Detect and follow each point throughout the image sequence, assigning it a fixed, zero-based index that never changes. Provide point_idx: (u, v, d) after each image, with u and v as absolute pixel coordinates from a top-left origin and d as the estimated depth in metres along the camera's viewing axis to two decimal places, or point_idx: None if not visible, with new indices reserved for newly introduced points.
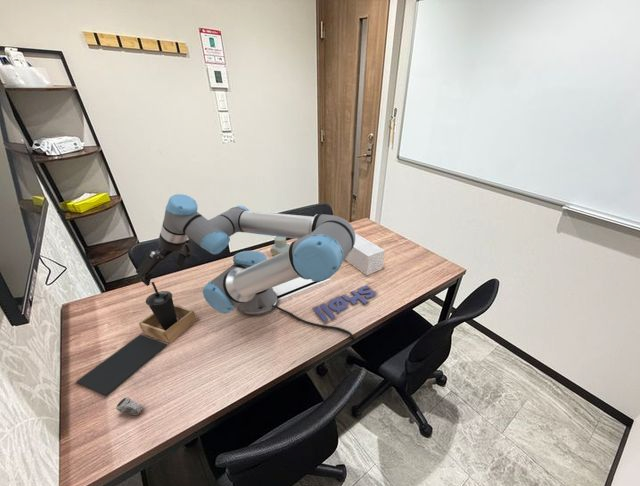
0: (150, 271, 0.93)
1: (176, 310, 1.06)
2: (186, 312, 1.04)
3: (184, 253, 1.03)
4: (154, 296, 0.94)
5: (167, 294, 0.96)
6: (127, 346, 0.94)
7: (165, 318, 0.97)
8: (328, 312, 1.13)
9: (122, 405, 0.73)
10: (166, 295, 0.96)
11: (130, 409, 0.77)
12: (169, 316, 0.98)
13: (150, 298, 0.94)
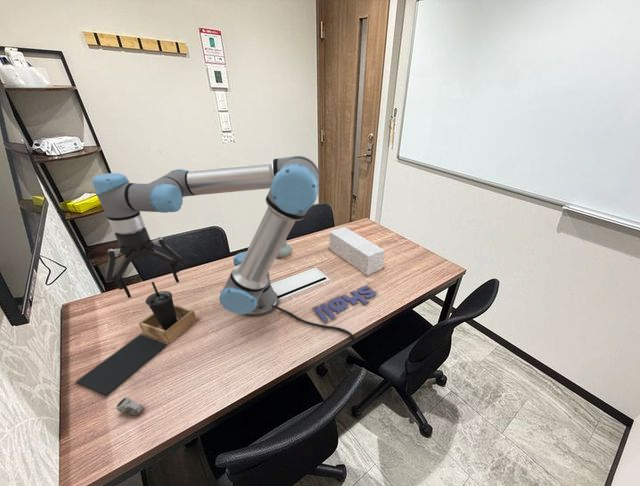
0: (118, 275, 0.84)
1: (176, 310, 1.06)
2: (186, 312, 1.04)
3: (165, 259, 0.91)
4: (154, 296, 0.94)
5: (167, 294, 0.96)
6: (127, 346, 0.94)
7: (165, 318, 0.97)
8: (328, 312, 1.13)
9: (122, 405, 0.73)
10: (166, 295, 0.96)
11: (130, 409, 0.77)
12: (170, 316, 0.98)
13: (150, 298, 0.94)
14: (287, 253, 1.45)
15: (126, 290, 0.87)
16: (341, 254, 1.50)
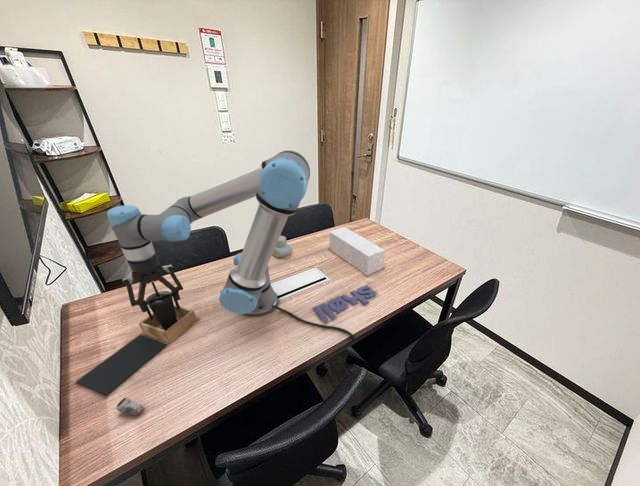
0: (140, 300, 0.91)
1: (176, 310, 1.06)
2: (186, 312, 1.04)
3: (169, 286, 0.95)
4: (154, 296, 0.94)
5: (167, 294, 0.96)
6: (127, 346, 0.94)
7: (165, 318, 0.97)
8: (328, 312, 1.13)
9: (122, 405, 0.73)
10: (166, 295, 0.96)
11: (130, 409, 0.77)
12: (170, 316, 0.98)
13: (150, 298, 0.94)
14: (287, 253, 1.45)
15: (149, 313, 0.94)
16: (341, 254, 1.50)
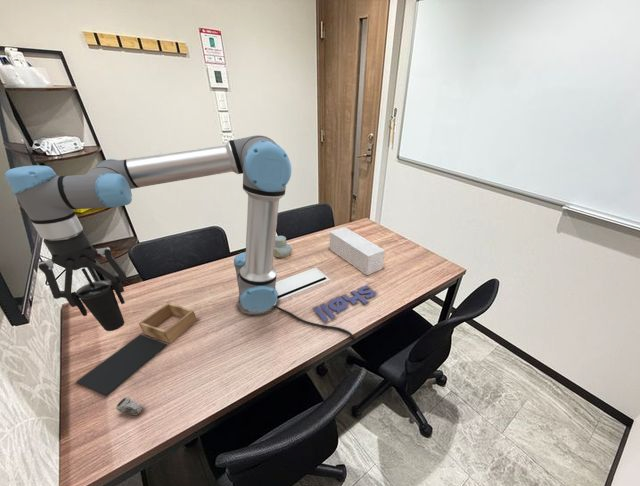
0: (66, 291, 0.72)
1: (176, 310, 1.06)
2: (186, 312, 1.04)
3: (106, 274, 0.76)
4: (87, 287, 0.75)
5: (105, 284, 0.77)
6: (127, 346, 0.94)
7: (103, 315, 0.78)
8: (328, 312, 1.13)
9: (122, 405, 0.73)
10: (103, 285, 0.77)
11: (130, 409, 0.77)
12: (109, 312, 0.79)
13: (82, 289, 0.75)
14: (287, 253, 1.45)
15: (80, 307, 0.75)
16: (341, 254, 1.50)
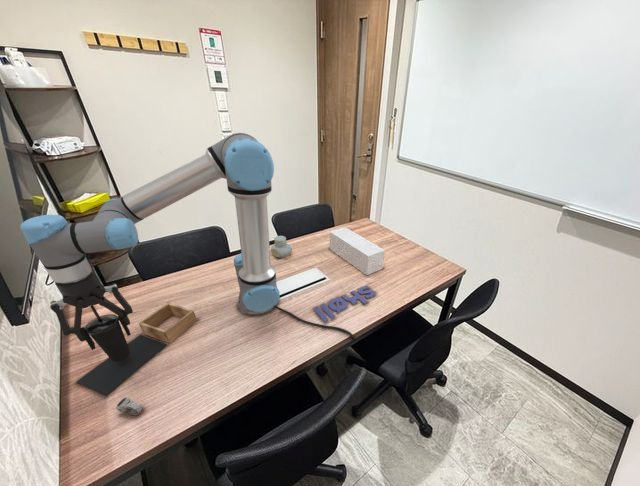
0: (76, 328, 0.76)
1: (176, 310, 1.06)
2: (186, 312, 1.04)
3: (113, 310, 0.80)
4: (95, 322, 0.79)
5: (112, 319, 0.81)
6: None
7: (111, 348, 0.82)
8: (328, 312, 1.13)
9: (122, 405, 0.73)
10: (111, 320, 0.80)
11: (130, 409, 0.77)
12: (116, 344, 0.83)
13: (90, 324, 0.78)
14: (287, 253, 1.45)
15: (89, 342, 0.79)
16: (341, 254, 1.50)
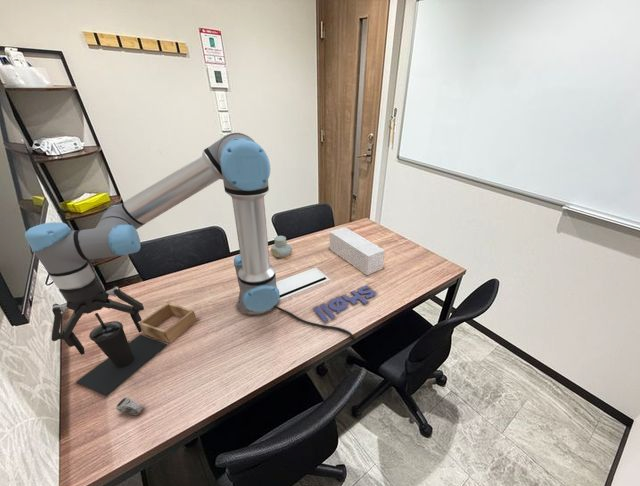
0: (66, 333, 0.75)
1: (176, 310, 1.06)
2: (186, 312, 1.04)
3: (123, 309, 0.81)
4: (100, 329, 0.80)
5: (116, 326, 0.82)
6: None
7: (115, 354, 0.83)
8: (328, 312, 1.13)
9: (122, 405, 0.73)
10: (115, 327, 0.82)
11: (130, 409, 0.77)
12: (120, 351, 0.84)
13: (95, 331, 0.80)
14: (287, 253, 1.45)
15: (78, 347, 0.78)
16: (341, 254, 1.50)
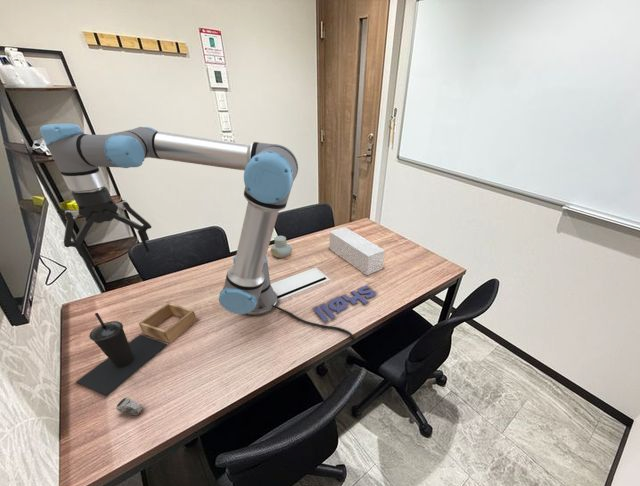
0: (78, 240, 0.77)
1: (176, 310, 1.06)
2: (186, 312, 1.04)
3: (131, 224, 0.84)
4: (100, 329, 0.80)
5: (116, 326, 0.82)
6: None
7: (115, 354, 0.83)
8: (328, 312, 1.13)
9: (122, 405, 0.73)
10: (115, 327, 0.82)
11: (130, 409, 0.77)
12: (120, 351, 0.84)
13: (95, 331, 0.80)
14: (287, 253, 1.45)
15: (89, 257, 0.80)
16: (341, 254, 1.50)
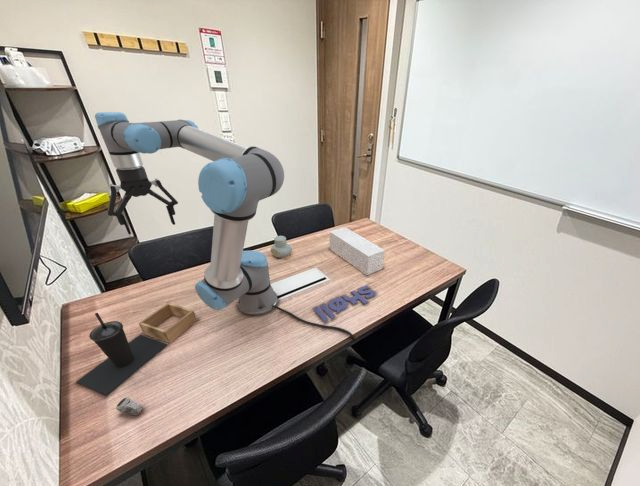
0: (119, 211, 0.92)
1: (176, 310, 1.06)
2: (186, 312, 1.04)
3: (162, 200, 0.99)
4: (100, 329, 0.80)
5: (116, 326, 0.82)
6: None
7: (115, 354, 0.83)
8: (328, 312, 1.13)
9: (122, 405, 0.73)
10: (115, 327, 0.82)
11: (130, 409, 0.77)
12: (120, 351, 0.84)
13: (95, 331, 0.80)
14: (287, 253, 1.45)
15: (126, 226, 0.95)
16: (341, 254, 1.50)
